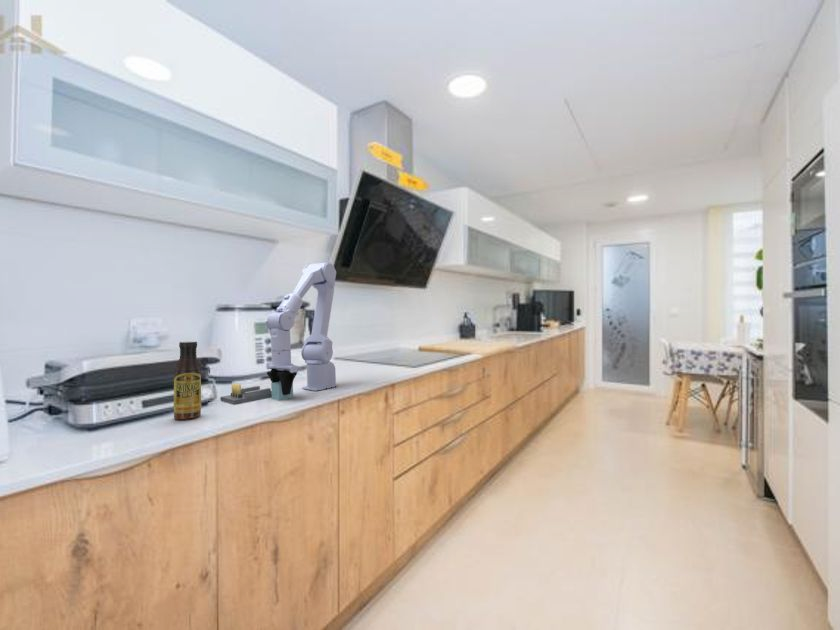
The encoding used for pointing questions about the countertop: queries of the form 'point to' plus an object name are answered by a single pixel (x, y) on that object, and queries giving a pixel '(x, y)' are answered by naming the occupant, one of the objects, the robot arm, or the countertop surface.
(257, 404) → the countertop surface
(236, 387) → the header board
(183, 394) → the sauce bottle
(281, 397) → the plug block
